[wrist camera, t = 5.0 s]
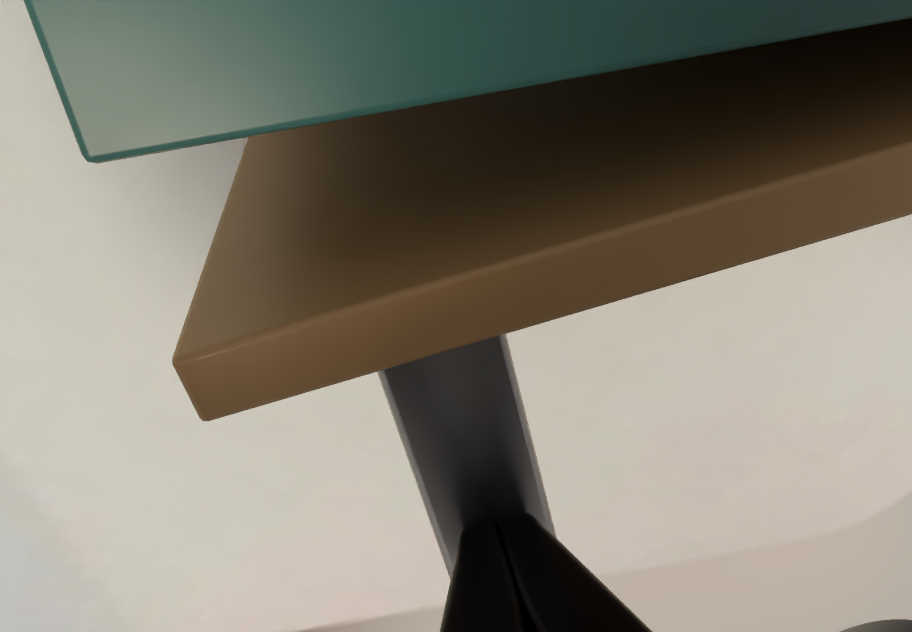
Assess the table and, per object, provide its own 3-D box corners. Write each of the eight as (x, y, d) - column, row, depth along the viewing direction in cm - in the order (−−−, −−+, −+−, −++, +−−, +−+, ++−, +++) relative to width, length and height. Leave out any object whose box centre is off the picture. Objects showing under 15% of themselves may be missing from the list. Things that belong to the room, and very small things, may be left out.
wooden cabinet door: (1003, 196, 19) (1521, 407, 11) (348, 389, 19) (368, 757, 10) (1034, -97, 16) (1792, -115, 8) (250, 128, 16) (168, 361, 7)
